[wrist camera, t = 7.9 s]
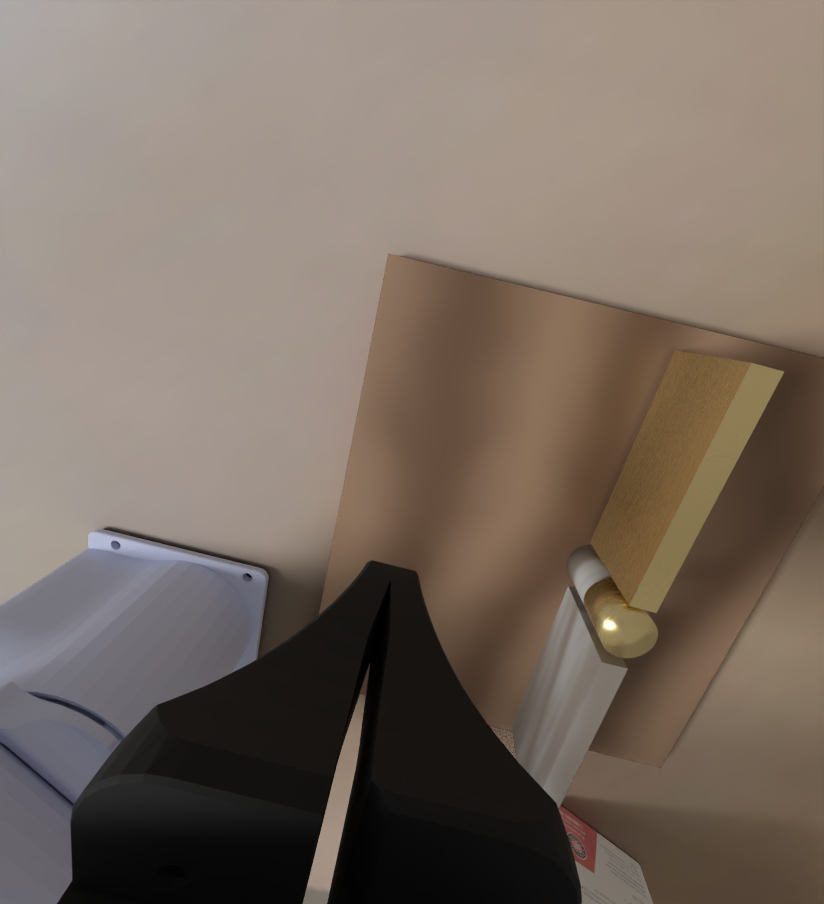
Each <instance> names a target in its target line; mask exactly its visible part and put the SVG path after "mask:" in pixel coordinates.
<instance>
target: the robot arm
mask: <svg viewBox="0 0 824 904" xmlns="http://www.w3.org/2000/svg"><path fill="white" fill-rule="evenodd" d="M117 542H119V543H120V545H119V544H118V543H117ZM246 573H248V574H250V575H251V576H252V578H250V577H248V576H247V575H246ZM268 580H269V575H268V573H267V572H266V571H265V570H264V569H262V568H259V567H255V566H250V565H246V564H242V563H238V562H234V561H230V560H226V559H222V558H218V557H214V556H210V555H206V554H202V553H198V552H193V551H189V550H185V549H181V548H177V547H173V546H169V545H165V544H161V543H157V542H153V541H149V540H145V539H141V538H136V537H132V536H128V535H124V534H120V533H116V532H112V531H108V530H104V529H96V530H94V531H93V532H91V533H90V534H89V537H88V549H86V550H85V551H83V552H82V553H80V554H79V555H77V556H75V557H74V558H72V559H71V560H69V561H68V562H66V563H65V564H63V565H62V566H60V567H59V568H57V569H56V570H54V571H52V572H51V573H49V574H48V575H46V576H45V577H43V578H42V579H40V580H39V581H37V582H36V583H34V584H33V585H31V586H29V587H28V588H26V589H25V590H23V591H22V592H20V593H19V594H17V595H16V596H14V597H13V598H11V599H10V600H8V601H7V602H5V603H3V604H2V605H0V904H302V903H303V899H304V896H305V892H306V888H307V884H308V879H309V875H310V871H311V867H312V863H313V859H314V855H315V851H316V847H317V843H318V839H319V835H320V831H321V827H322V823H323V819H324V814H325V810H326V806H327V802H328V798H329V794H330V790H331V786H332V782H333V778H334V774H335V770H336V766H337V762H338V759H339V755H340V752H341V749H342V745H343V742H344V739H345V736H346V733H347V730H348V727H349V724H350V721H351V718H352V715H353V712H354V709H355V706H356V703H357V700H358V697H359V694H360V691H361V688H362V685H363V682H364V679H365V676H366V673H367V670H368V667H369V664H370V667H369V675H368V683H367V690H366V698H365V706H364V714H363V722H362V730H361V738H360V746H359V753H358V759H357V765H356V771H355V776H354V780H353V785H352V790H351V795H350V799H349V804H348V809H347V814H346V818H345V823H344V828H343V832H342V837H341V842H340V846H339V851H338V856H337V861H336V865H335V870H334V875H333V879H332V884H331V889H330V893H329V898H328V903H327V904H582V895H581V884H580V880H579V876H578V871H577V867H576V863H575V858H574V855H573V851H572V848H571V845H570V842H569V838H568V835H567V832H566V829H565V826H564V823H563V821H562V818H561V815H560V812H559V809H558V806H557V803H556V802H555V801H554V800H553V799H552V798H551V797H550V796H549V795H548V794H547V792H546V791H545V790H544V789H543V788H542V787H541V786H540V785H539V784H538V783H537V782H536V781H535V780H534V779H533V778H532V776H531V775H530V774H529V773H528V772H527V771H526V770H525V769H524V768H523V767H522V766H521V765H520V764H519V763H518V761H517V760H516V759H515V758H514V757H513V755H512V754H511V753H510V752H509V751H508V749H507V748H506V747H505V746H504V744H503V743H502V742H501V741H500V740H499V738H498V737H497V736H496V735H495V733H494V732H493V731H492V729H491V728H490V727H489V725H488V724H487V722H486V721H485V720H484V718H483V717H482V715H481V714H480V712H479V711H478V710H477V708H476V707H475V705H474V704H473V703H472V701H471V699H470V698H469V696H468V694H467V693H466V691H465V690H464V688H463V686H462V685H461V683H460V681H459V679H458V678H457V676H456V674H455V672H454V670H453V668H452V667H451V665H450V663H449V661H448V659H447V657H446V655H445V652H444V650H443V648H442V646H441V644H440V641H439V639H438V637H437V634H436V632H435V629H434V627H433V624H432V621H431V619H430V616H429V613H428V610H427V607H426V604H425V601H424V597H423V594H422V590H421V586H420V581H419V575H418V574H417V572H416V571H414V570H410V569H406V568H402V567H398V566H394V565H390V564H385V563H381V562H377V561H373V560H371V561H369V562H367V563H366V565H365V566H364V568H363V569H362V571H361V572H360V573H359V575H358V576H357V577H356V578H355V580H354V581H353V582H352V583H351V584H350V585H349V587H348V588H347V589H346V590H345V591H344V592H343V593H342V594H341V595H340V596H339V597H338V598H337V599H336V600H335V601H334V602H333V603H332V604H331V605H330V606H329V607H327V608H326V609H325V610H324V611H323V612H322V613H321V614H320V615H319V616H317V617H316V618H315V619H314V620H313V621H312V622H310V623H309V624H308V625H307V626H305V627H304V628H303V629H301V630H300V631H299V632H297V633H296V634H295V635H293V636H292V637H291V638H289V639H288V640H286V641H285V642H283V643H282V644H280V645H279V646H277V647H276V648H274V649H273V650H271V651H270V652H268V653H266V654H265V655H263V656H262V657H260V658H258V659H257V657H258V650H259V643H260V636H261V629H262V622H263V615H264V608H265V601H266V594H267V587H268Z"/></svg>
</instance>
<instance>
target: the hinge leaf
mask: <svg viewBox="0 0 824 904" xmlns="http://www.w3.org/2000/svg"><path fill="white" fill-rule="evenodd" d="M783 374H784V371H780V370H776V369H773V368H769V367H765V366H762V365H758V364H754V363H750V362H744V361H738V360H732V359H726V358H719V357H713V356H707V355H701V354H695V353H689V352H683V351H677V350H675V352H674V354H673V356H672V358H671V361H670V363H669V365H668V367H667V370H666V372H665V374H664V376H663V379H662V381H661V383H660V385H659V388H658V390H657V392H656V394H655V397H654V399H653V401H652V404H651V406H650V408H649V410H648V413H647V415H646V417H645V419H644V422H643V424H642V426H641V428H640V431H639V433H638V435H637V437H636V440H635V442H634V444H633V446H632V449H631V451H630V453H629V455H628V458H627V460H626V462H625V464H624V467H623V469H622V471H621V474H620V476H619V478H618V480H617V483H616V485H615V487H614V489H613V492H612V494H611V496H610V498H609V501H608V503H607V505H606V507H605V510H604V512H603V514H602V516H601V519H600V521H599V523H598V525H597V528H596V530H595V532H594V534H593V537H592V539H591V541H590V543H591V545H592V546H593V548H594V550H595V551H596V553H597V554H598V556H599V558H600V559H601V561H602V563H603V564H604V566H605V567H606V569H607V571H608V572H609V574H610V576H611V577H612V579H604V580H601V581H598V582H596V583H594V584H593V585H592V586H590V587H589V588H588V590H587V591H586V593H585V596H584V606H585V609H586V611H587V613H588V615H589V617H590V619H591V622H592V624H593V626H594V628H595V630H596V632H597V634H598V637H599V639H600V641H601V643H602V645H603V647H604V648H605V650H606V651H607V652H609V653H610V654H612V655H614V656H616V657H620V658H634V657H638V656H641V655H643V654H645V653H647V652H648V651H649V650H650V649H652V647H653V646H654V645H655V643H656V641H657V638H658V630H657V627H656V625H655V623H654V622H653V620H652V619H651V617H650V616H649V614H648V613H647V611H650V612H654V613H657V611H658V609H659V607H660V605H661V603H662V602H663V600H664V598H665V596H666V594H667V592H668V590H669V588H670V586H671V585H672V583H673V581H674V579H675V577H676V575H677V573H678V571H679V570H680V568H681V566H682V564H683V562H684V560H685V558H686V556H687V554H688V553H689V551H690V549H691V547H692V545H693V543H694V541H695V539H696V537H697V536H698V534H699V532H700V530H701V528H702V526H703V524H704V522H705V521H706V519H707V517H708V515H709V513H710V511H711V509H712V507H713V505H714V504H715V502H716V500H717V498H718V496H719V494H720V492H721V490H722V489H723V487H724V485H725V483H726V481H727V479H728V477H729V475H730V473H731V472H732V470H733V468H734V466H735V464H736V462H737V460H738V458H739V456H740V455H741V453H742V451H743V449H744V447H745V445H746V443H747V441H748V440H749V438H750V436H751V434H752V432H753V430H754V428H755V426H756V424H757V423H758V421H759V419H760V417H761V415H762V413H763V411H764V409H765V408H766V406H767V404H768V402H769V400H770V398H771V396H772V394H773V392H774V391H775V389H776V387H777V385H778V383H779V381H780V379H781V377H782V375H783ZM646 610H647V611H646Z"/></svg>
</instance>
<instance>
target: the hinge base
mask: <svg viewBox="0 0 824 904" xmlns="http://www.w3.org/2000/svg"><path fill="white" fill-rule="evenodd" d="M675 350H677V351H683V352H689V353H695V354H701V355H707V356H713V357H719V358H726V359H732V360H738V361H744V362H750V363H754V364H758V365H762V366H765V367H769V368H773V369H776V370H780V371H784V374H783V375H782V377H781V379H780V381H779V383H778V385H777V387H776V389H775V391H774V392H773V394H772V396H771V398H770V400H769V402H768V404H767V406H766V408H765V409H764V411H763V413H762V415H761V417H760V419H759V421H758V423H757V424H756V426H755V428H754V430H753V432H752V434H751V436H750V438H749V440H748V441H747V443H746V445H745V447H744V449H743V451H742V453H741V455H740V456H739V458H738V460H737V462H736V464H735V466H734V468H733V470H732V472H731V473H730V475H729V477H728V479H727V481H726V483H725V485H724V487H723V489H722V490H721V492H720V494H719V496H718V498H717V500H716V502H715V504H714V505H713V507H712V509H711V511H710V513H709V515H708V517H707V519H706V521H705V522H704V524H703V526H702V528H701V530H700V532H699V534H698V536H697V537H696V539H695V541H694V543H693V545H692V547H691V549H690V551H689V553H688V554H687V556H686V558H685V560H684V562H683V564H682V566H681V568H680V570H679V571H678V573H677V575H676V577H675V579H674V581H673V583H672V585H671V586H670V588H669V590H668V592H667V594H666V596H665V598H664V600H663V602H662V603H661V605H660V607H659V609H658V611H657V613H654V612H650V611H647V610H646V611H647V613H648V614H649V616H650V617H651V619H652V620H653V622H654V623H655V625H656V627H657V630H658V638H657V641H656V643H655V645H654V646H653V647H652V649H650V650H649V651H648V652H647V653H645V654H643V655H641V656H638V657H634V658H620V657H616V656H614V655H612V654H610V653H609V652H607V651H606V650H605V648H604V647H603V645H602V643H601V641H600V639H599V637H598V634H597V632H596V630H595V628H594V626H593V624H592V622H591V619H590V617H589V615H588V613H587V611H586V609H585V606H584V596H585V593H586V591H587V590H588V588H589V587H590V586H592V585H593V584H594V583H596V582H598V581H601V580H604V579H612V577H611V576H610V574H609V572H608V571H607V569H606V567H605V566H604V564H603V563H602V561H601V559H600V558H599V556H598V554H597V553H596V551H595V550H594V548H593V546H592V545H591V543H590V541H591V539H592V537H593V534H594V532H595V530H596V528H597V525H598V523H599V521H600V519H601V516H602V514H603V512H604V510H605V507H606V505H607V503H608V501H609V498H610V496H611V494H612V492H613V489H614V487H615V485H616V483H617V480H618V478H619V476H620V474H621V471H622V469H623V467H624V464H625V462H626V460H627V458H628V455H629V453H630V451H631V449H632V446H633V444H634V442H635V440H636V437H637V435H638V433H639V431H640V428H641V426H642V424H643V422H644V419H645V417H646V415H647V413H648V410H649V408H650V406H651V404H652V401H653V399H654V397H655V394H656V392H657V390H658V388H659V385H660V383H661V381H662V379H663V376H664V374H665V372H666V370H667V367H668V365H669V363H670V361H671V358H672V356H673V354H674V352H675ZM823 487H824V358H820V357H815V356H811V355H807V354H803V353H799V352H795V351H790V350H786V349H782V348H778V347H774V346H770V345H766V344H761V343H757V342H753V341H749V340H745V339H741V338H737V337H732V336H728V335H724V334H720V333H716V332H712V331H708V330H703V329H699V328H695V327H691V326H687V325H683V324H679V323H674V322H670V321H666V320H662V319H658V318H654V317H650V316H645V315H641V314H637V313H633V312H629V311H625V310H620V309H616V308H612V307H608V306H604V305H600V304H596V303H591V302H587V301H583V300H579V299H575V298H571V297H567V296H562V295H558V294H554V293H550V292H546V291H542V290H538V289H533V288H529V287H525V286H521V285H517V284H513V283H509V282H504V281H500V280H496V279H492V278H488V277H484V276H479V275H475V274H471V273H467V272H463V271H459V270H455V269H450V268H446V267H442V266H438V265H434V264H430V263H426V262H421V261H417V260H413V259H409V258H405V257H401V256H397V255H392V254H388V258H387V263H386V268H385V273H384V278H383V284H382V289H381V294H380V299H379V304H378V309H377V315H376V320H375V325H374V330H373V335H372V341H371V346H370V351H369V356H368V361H367V366H366V372H365V377H364V382H363V387H362V392H361V397H360V403H359V408H358V413H357V418H356V423H355V428H354V434H353V439H352V444H351V449H350V454H349V460H348V465H347V470H346V475H345V480H344V485H343V491H342V496H341V501H340V506H339V511H338V516H337V522H336V527H335V532H334V537H333V542H332V547H331V553H330V558H329V563H328V568H327V573H326V578H325V584H324V589H323V594H322V599H321V604H320V610H319V615H320V614H321V613H322V612H323V611H324V610H325V609H326V608H327V607H329V606H330V605H331V604H332V603H333V602H334V601H335V600H336V599H337V598H338V597H339V596H340V595H341V594H342V593H343V592H344V591H345V590H346V589H347V588H348V587H349V585H350V584H351V583H352V582H353V581H354V580H355V578H356V577H357V576H358V575H359V573H360V572H361V571H362V569H363V568H364V566H365V565H366V563H367V562H369V561H371V560H373V561H377V562H381V563H385V564H390V565H394V566H398V567H402V568H406V569H410V570H414V571H416V572H417V574H418V575H419V581H420V586H421V590H422V594H423V597H424V601H425V604H426V607H427V610H428V613H429V616H430V619H431V621H432V624H433V627H434V629H435V632H436V634H437V637H438V639H439V641H440V644H441V646H442V648H443V650H444V652H445V655H446V657H447V659H448V661H449V663H450V665H451V667H452V668H453V670H454V672H455V674H456V676H457V678H458V679H459V681H460V683H461V685H462V686H463V688H464V690H465V691H466V693H467V694H468V696H469V698H470V699H471V701H472V703H473V704H474V705H475V707H476V708H477V710H478V711H479V712H480V714H481V715H482V717H483V718H484V720H485V721H486V722H487V724H488V725H489V726H492V727H496V728H500V729H505V730H509V731H513V738H514V744H515V751H516V757H517V761H518V763H519V764H520V765H521V766H522V767H523V768H524V769H525V770H526V771H527V772H528V773H529V774H530V775H531V776H532V778H533V779H534V780H535V781H536V782H537V783H538V784H539V785H540V786H541V787H542V788H543V789H544V790H545V791H546V792H547V794H548V795H549V796H550V797H551V798H552V799H553V800H554V801H555V802H556V803H557V806H558V809H559V807H560V805H561V803H562V801H563V799H564V797H565V795H566V793H567V791H568V789H569V787H570V785H571V783H572V781H573V779H574V777H575V775H576V773H577V771H578V769H579V767H580V765H581V763H582V761H583V759H584V757H585V755H586V753H587V751H588V750H590V751H594V752H598V753H602V754H606V755H610V756H614V757H618V758H622V759H626V760H630V761H634V762H638V763H642V764H646V765H650V766H654V767H658V768H661V767H662V765H663V763H664V761H665V760H666V758H667V756H668V754H669V753H670V751H671V749H672V748H673V746H674V744H675V742H676V741H677V739H678V737H679V735H680V734H681V732H682V730H683V729H684V727H685V725H686V723H687V722H688V720H689V718H690V716H691V715H692V713H693V711H694V710H695V708H696V706H697V704H698V703H699V701H700V699H701V697H702V696H703V694H704V692H705V691H706V689H707V687H708V685H709V684H710V682H711V680H712V678H713V677H714V675H715V673H716V671H717V670H718V668H719V666H720V665H721V663H722V661H723V659H724V658H725V656H726V654H727V652H728V651H729V649H730V647H731V646H732V644H733V642H734V640H735V639H736V637H737V635H738V633H739V632H740V630H741V628H742V627H743V625H744V623H745V621H746V620H747V618H748V616H749V614H750V613H751V611H752V609H753V608H754V606H755V604H756V602H757V601H758V599H759V597H760V595H761V594H762V592H763V590H764V589H765V587H766V585H767V583H768V582H769V580H770V578H771V576H772V575H773V573H774V571H775V570H776V568H777V566H778V564H779V563H780V561H781V559H782V557H783V556H784V554H785V552H786V550H787V549H788V547H789V545H790V544H791V542H792V540H793V538H794V537H795V535H796V533H797V531H798V530H799V528H800V526H801V525H802V523H803V521H804V519H805V518H806V516H807V514H808V512H809V511H810V509H811V507H812V506H813V504H814V502H815V500H816V499H817V497H818V495H819V493H820V492H821V490H822V488H823ZM319 615H318V616H319ZM369 667H370V664H369ZM369 667H368V670H367V673H366V676H365V679H364V682H363V685H362V688H361V691H360V694H363V695H366V690H367V683H368V675H369Z"/></svg>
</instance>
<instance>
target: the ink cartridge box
mask: <svg viewBox="0 0 824 904" xmlns="http://www.w3.org/2000/svg"><path fill="white" fill-rule="evenodd" d="M559 812H560V815H561V818H562V821H563V823H564V826H565V829H566V832H567V835H568V838H569V842H570V845H571V848H572V851H573V855H574V858H575V863H576V867H577V871H578V876H579V880H580V884H581V895H582V904H653V902H652V899H651V896H650V893H649V890H648V887H647V885H646V882H645V879H644V876H643V873H642V870H641V867H640V865H639V864H638V863H637V862H636V861H635V860H633V859H632V858H631V857H629V856H628V855H627V854H625V853H624V852H623V851H622V850H620V849H619V848H617V847H616V846H615V845H613V844H612V843H611V842H609V841H608V840H607V839H605V838H604V837H603V836H601V835H600V834H598V833H597V832H596V831H595V830H593V829H592V828H591V827H589V826H588V825H586V824H585V823H584V822H582V821H581V820H580V819H578V818H577V817H576V816H574V815H573V814H572V813H570V812H569V811H568V810H566V809H565V808H564V807H562V806H561V805H560V807H559Z"/></svg>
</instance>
